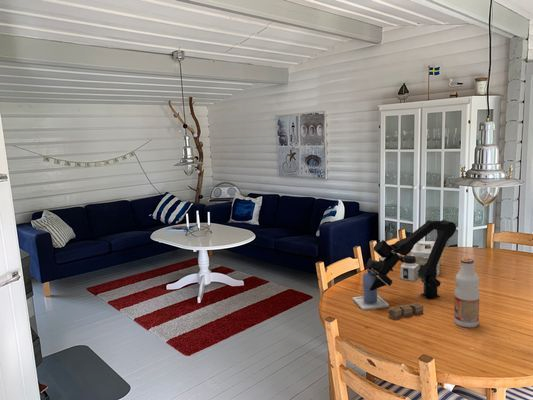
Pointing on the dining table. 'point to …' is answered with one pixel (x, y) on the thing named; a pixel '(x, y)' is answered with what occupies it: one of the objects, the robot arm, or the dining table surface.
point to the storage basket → (423, 253)
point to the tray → (368, 306)
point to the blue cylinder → (367, 283)
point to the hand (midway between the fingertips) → (367, 287)
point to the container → (409, 268)
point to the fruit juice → (466, 295)
